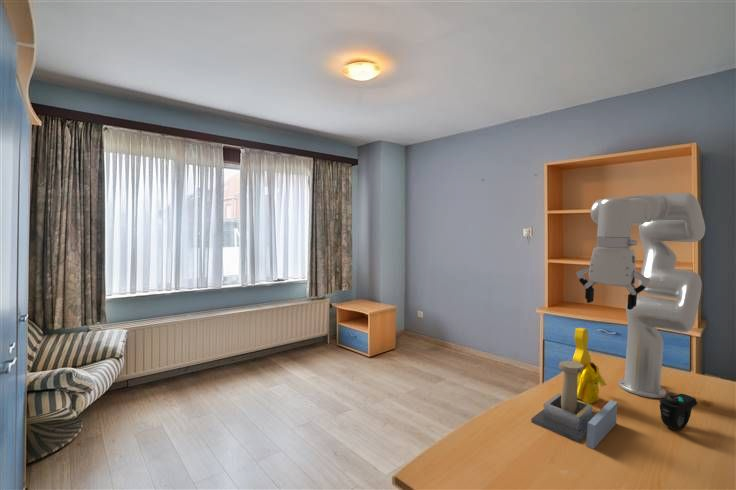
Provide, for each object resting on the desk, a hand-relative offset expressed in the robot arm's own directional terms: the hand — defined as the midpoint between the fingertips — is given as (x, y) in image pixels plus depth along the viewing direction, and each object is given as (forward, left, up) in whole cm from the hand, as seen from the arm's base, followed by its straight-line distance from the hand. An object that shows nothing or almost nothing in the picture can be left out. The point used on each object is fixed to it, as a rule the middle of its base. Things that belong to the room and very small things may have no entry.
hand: (609, 305), depth 99 cm
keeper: (+8, -6, -33) cm, 34 cm away
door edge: (+8, +2, -33) cm, 34 cm away
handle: (+8, -6, -32) cm, 34 cm away
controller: (-12, +14, -33) cm, 38 cm away
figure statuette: (-10, -8, -33) cm, 35 cm away
